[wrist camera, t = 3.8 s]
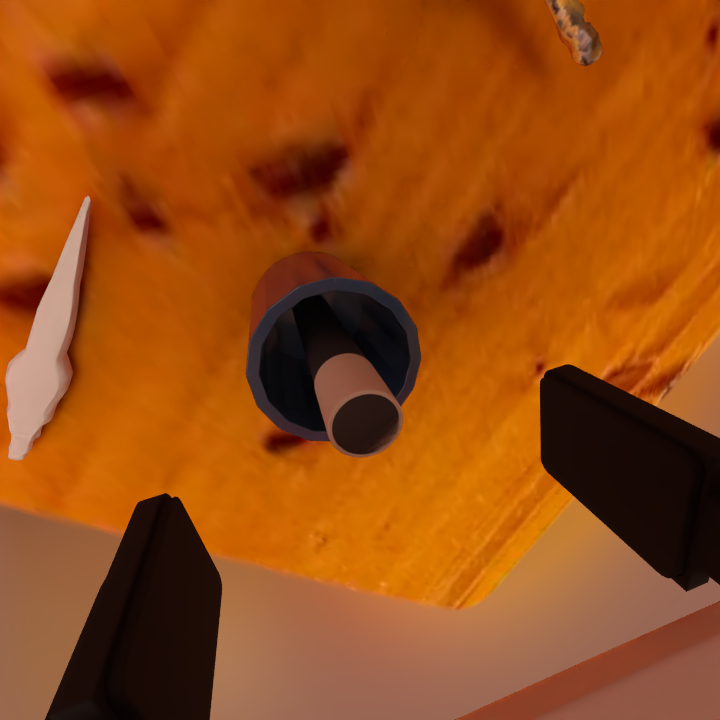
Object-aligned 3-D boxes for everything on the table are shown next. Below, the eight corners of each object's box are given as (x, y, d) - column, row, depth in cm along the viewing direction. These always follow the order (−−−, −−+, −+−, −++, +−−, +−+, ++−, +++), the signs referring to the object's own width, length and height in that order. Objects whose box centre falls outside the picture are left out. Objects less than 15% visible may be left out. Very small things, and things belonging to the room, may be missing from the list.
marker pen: (326, 289, 23) (396, 380, 11) (335, 325, 24) (408, 444, 12) (288, 299, 22) (318, 403, 11) (298, 335, 23) (337, 467, 12)
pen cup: (354, 238, 22) (407, 258, 14) (375, 346, 25) (430, 413, 17) (235, 267, 21) (219, 306, 13) (271, 376, 24) (277, 462, 16)
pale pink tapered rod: (55, 451, 23) (38, 471, 21) (1, 439, 22) (-21, 459, 20) (126, 208, 19) (113, 209, 18) (65, 182, 18) (45, 180, 17)
